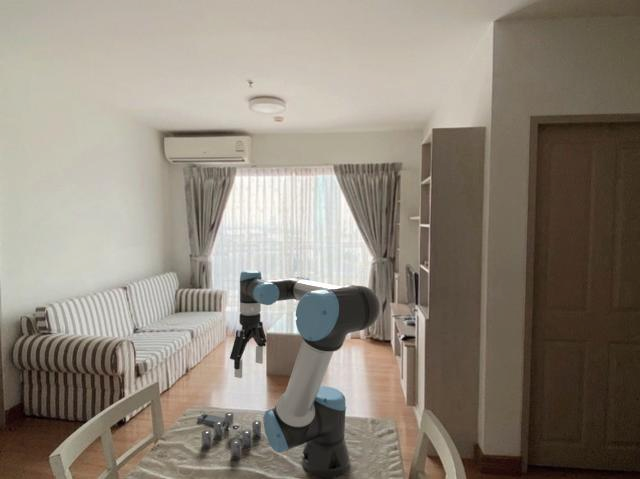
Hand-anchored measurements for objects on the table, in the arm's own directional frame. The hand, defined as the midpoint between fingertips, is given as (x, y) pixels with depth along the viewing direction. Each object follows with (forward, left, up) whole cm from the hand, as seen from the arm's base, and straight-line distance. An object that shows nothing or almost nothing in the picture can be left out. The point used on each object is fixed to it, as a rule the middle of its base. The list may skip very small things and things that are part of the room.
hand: (249, 369), depth 129 cm
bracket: (+14, +4, -22) cm, 26 cm away
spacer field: (0, +10, -21) cm, 24 cm away
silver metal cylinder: (0, +8, -22) cm, 23 cm away
